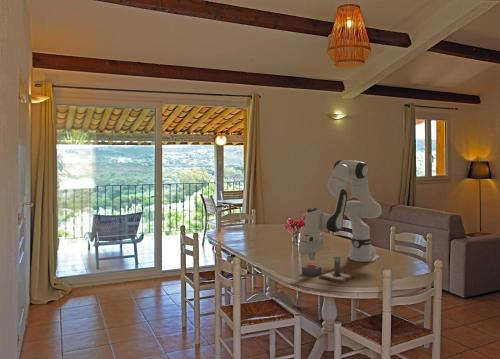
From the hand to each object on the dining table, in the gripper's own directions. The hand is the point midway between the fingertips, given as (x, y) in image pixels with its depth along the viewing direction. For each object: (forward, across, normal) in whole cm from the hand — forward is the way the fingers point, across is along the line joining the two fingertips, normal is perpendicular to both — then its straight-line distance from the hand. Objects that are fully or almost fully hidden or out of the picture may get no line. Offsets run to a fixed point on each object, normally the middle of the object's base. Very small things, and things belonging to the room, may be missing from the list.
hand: (311, 259), depth 248 cm
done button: (+6, 0, 0) cm, 6 cm away
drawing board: (+8, -3, +15) cm, 17 cm away
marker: (+7, -3, +15) cm, 17 cm away
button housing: (+8, 0, 0) cm, 8 cm away
